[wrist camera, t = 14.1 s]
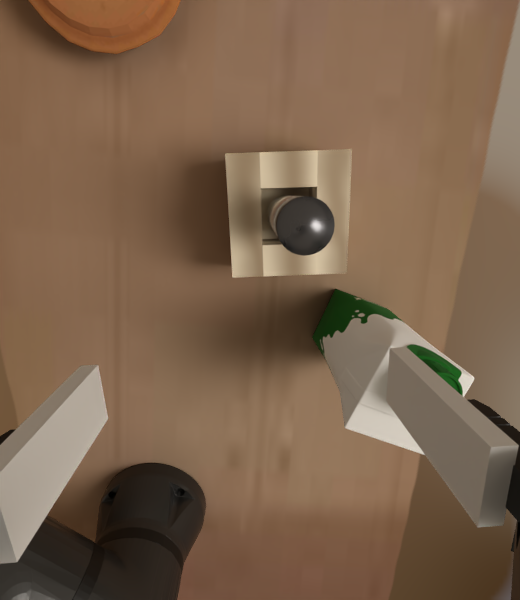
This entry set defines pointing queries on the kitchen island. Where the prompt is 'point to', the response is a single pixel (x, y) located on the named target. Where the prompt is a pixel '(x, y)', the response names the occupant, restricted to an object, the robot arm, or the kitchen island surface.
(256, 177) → the birch socket block
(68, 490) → the kitchen island surface
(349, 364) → the milk carton
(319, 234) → the steel peg
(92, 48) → the pie
